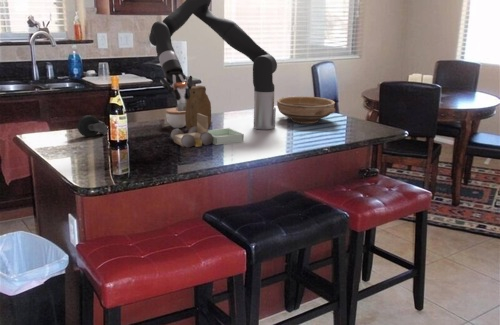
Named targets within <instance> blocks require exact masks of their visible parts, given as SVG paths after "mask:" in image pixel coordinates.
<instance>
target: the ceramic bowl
mask: <svg viewBox="0 0 500 325" xmlns="http://www.w3.org/2000/svg"><path fill="white" fill-rule="evenodd" d="M276 102H277V104H276V105H277V109H278V111H279V113H281V114H282V115H283V116H285V117H287V118H290V119H291V121H292V122H293V123H297V124H315V123H318V122H319V120H321V119H325V118H327V117H329V116H330V115H331V114H333V113H335V112H336V108H335V104H336V102H335V101H334V100H332V99H328V98H324V97H318V96H303V95H301V96H299V95H298V96H287V97H286V96H285V97H281V98H278V99H277V100H276Z"/></svg>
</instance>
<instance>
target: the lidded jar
mask: <svg viewBox="0 0 500 325" xmlns="http://www.w3.org/2000/svg"><path fill="white" fill-rule="evenodd" d="M185 112H186V111H177V105H176V107H172V108H167V109H166V110H165V114H166V116H165V117H166V120H167V123H168V124H169V125H170V127H171V128H173V129H180V128H184V127H186V120H185Z"/></svg>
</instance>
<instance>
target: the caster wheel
mask: <svg viewBox="0 0 500 325" xmlns="http://www.w3.org/2000/svg"><path fill="white" fill-rule="evenodd" d="M107 127H108V126H107V125H106V123H105V121H104V122H103V121H102V120H99V119H98V118H97V117H95V116H93V115H90V114H87V115H84V116H81V118H79V120H78V122H77V130H78V133H79V134H80V135H82V136H83V137H85V138H93V137H96V136H97V134H99V133H100V134H99V135H101V134H103V135H104V136H106V135H107V133H108V132H109V129H108V128H107ZM103 135H102V136H103ZM92 136H93V137H92Z"/></svg>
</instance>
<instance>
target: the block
mask: <svg viewBox="0 0 500 325" xmlns="http://www.w3.org/2000/svg"><path fill="white" fill-rule="evenodd" d="M206 90H207V88H206V86H204V85H192V87H191V90H190V91H189V92H190V98H189V99H188V100H187V99H186V109H187V111H186V112H185V120H186V125H185V127H186V129H187V131H189V129H190V128H191V127H197V114H198V113H200V114H202V115H205V116H207V117H208V130H211V125H212V106H211V105H212V104H211V100H210V99H209V95H208V94H207V91H206Z"/></svg>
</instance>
